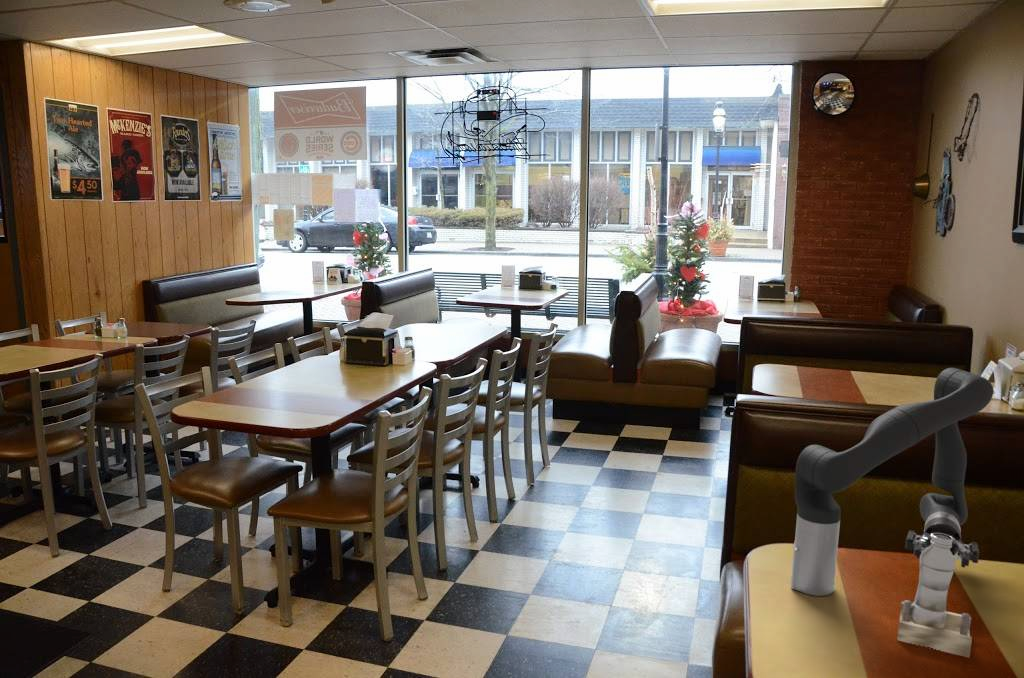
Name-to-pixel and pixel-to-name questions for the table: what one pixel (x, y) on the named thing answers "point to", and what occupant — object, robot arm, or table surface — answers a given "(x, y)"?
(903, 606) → the caddy
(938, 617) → the plastic bottle
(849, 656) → the table surface
